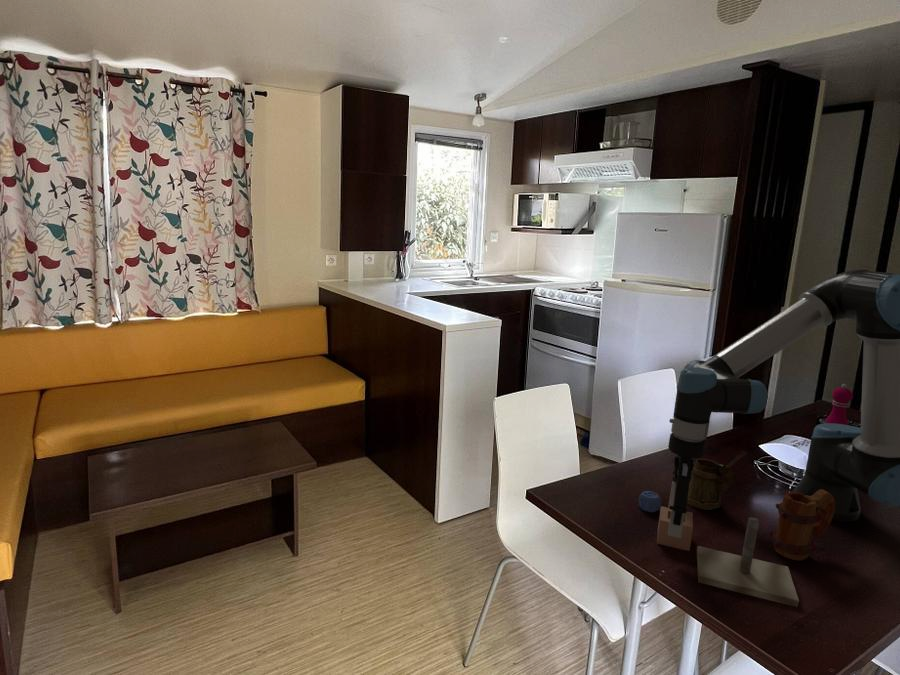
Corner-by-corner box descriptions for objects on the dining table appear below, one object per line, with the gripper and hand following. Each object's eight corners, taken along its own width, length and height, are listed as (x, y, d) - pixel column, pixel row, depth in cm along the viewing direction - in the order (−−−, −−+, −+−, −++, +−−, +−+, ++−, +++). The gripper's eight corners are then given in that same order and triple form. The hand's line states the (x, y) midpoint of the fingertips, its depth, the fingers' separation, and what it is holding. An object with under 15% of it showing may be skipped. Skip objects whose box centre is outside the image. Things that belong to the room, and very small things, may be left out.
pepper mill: (825, 431, 208) (836, 379, 204) (848, 438, 202) (860, 385, 198) (818, 435, 203) (829, 383, 199) (842, 442, 198) (853, 388, 194)
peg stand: (786, 572, 122) (797, 516, 119) (797, 607, 111) (810, 545, 108) (696, 551, 128) (705, 497, 125) (698, 582, 117) (707, 523, 114)
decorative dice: (637, 505, 148) (639, 491, 147) (650, 504, 149) (652, 490, 148) (646, 513, 144) (648, 499, 143) (660, 511, 145) (661, 497, 144)
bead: (688, 535, 134) (692, 512, 133) (689, 551, 128) (693, 527, 127) (657, 528, 137) (660, 506, 135) (656, 543, 130) (660, 520, 129)
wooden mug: (727, 521, 141) (739, 455, 138) (677, 500, 151) (686, 437, 147) (743, 511, 147) (754, 446, 143) (693, 490, 157) (702, 430, 153)
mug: (788, 567, 123) (800, 505, 120) (758, 546, 131) (769, 487, 128) (839, 559, 128) (852, 498, 124) (807, 539, 135) (819, 481, 132)
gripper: (670, 416, 139) (658, 494, 144) (670, 452, 117) (655, 544, 121) (703, 421, 137) (690, 501, 141) (709, 460, 114) (693, 553, 119)
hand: (674, 521), depth 131 cm, fingers open, 13 cm apart
